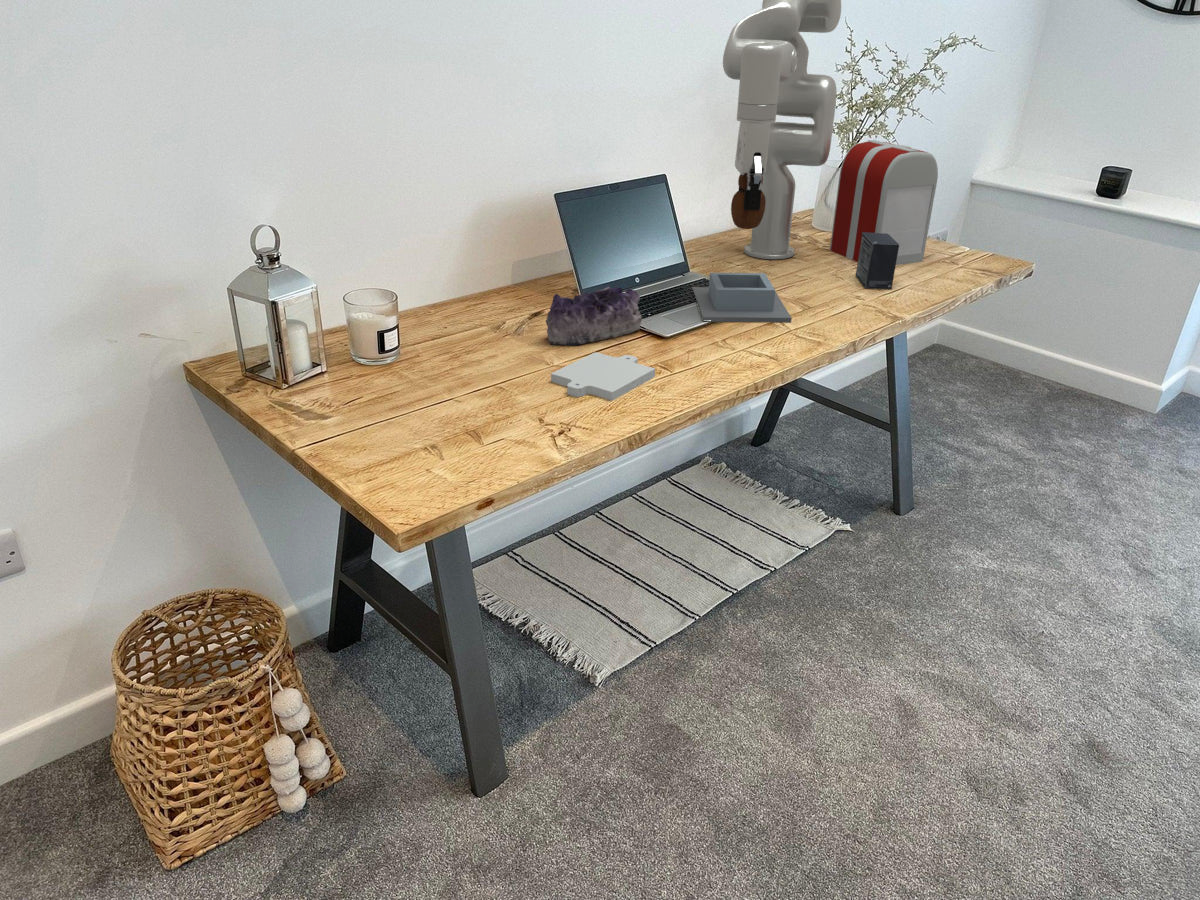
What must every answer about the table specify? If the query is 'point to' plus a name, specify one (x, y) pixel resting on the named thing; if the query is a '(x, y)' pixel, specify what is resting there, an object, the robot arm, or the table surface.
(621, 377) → the mounting plate
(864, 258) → the small box
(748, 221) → the wooden figurine
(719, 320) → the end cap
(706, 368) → the table surface
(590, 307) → the geode
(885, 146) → the red striped mailbox
